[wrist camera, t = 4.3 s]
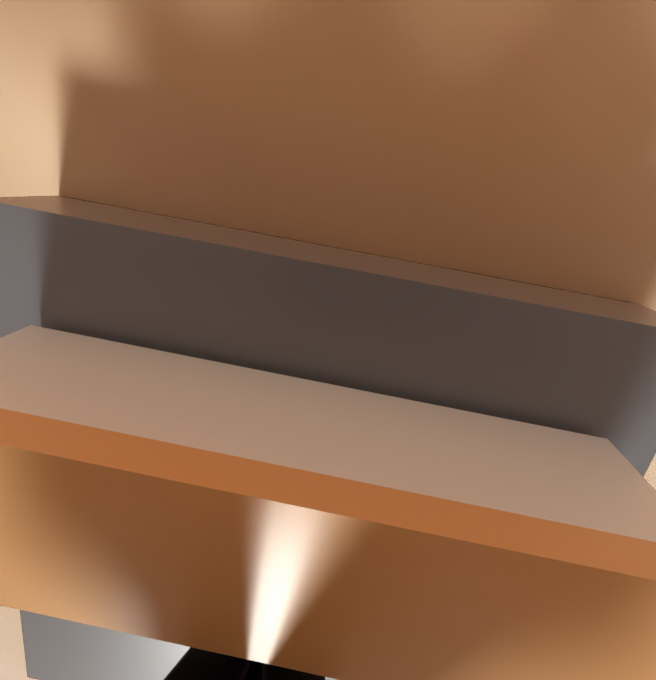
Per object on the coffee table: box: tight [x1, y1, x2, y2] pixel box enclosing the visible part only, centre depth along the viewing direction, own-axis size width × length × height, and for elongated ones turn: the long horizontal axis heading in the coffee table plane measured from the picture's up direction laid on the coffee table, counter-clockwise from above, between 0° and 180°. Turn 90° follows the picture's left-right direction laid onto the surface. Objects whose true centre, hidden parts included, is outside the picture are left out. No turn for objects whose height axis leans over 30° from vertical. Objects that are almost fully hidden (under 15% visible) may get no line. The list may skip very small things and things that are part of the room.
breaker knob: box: [0, 325, 656, 680], centre depth 6 cm, size 2×10×3 cm, turn 80°
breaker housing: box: [0, 196, 656, 680], centre depth 10 cm, size 12×12×2 cm
